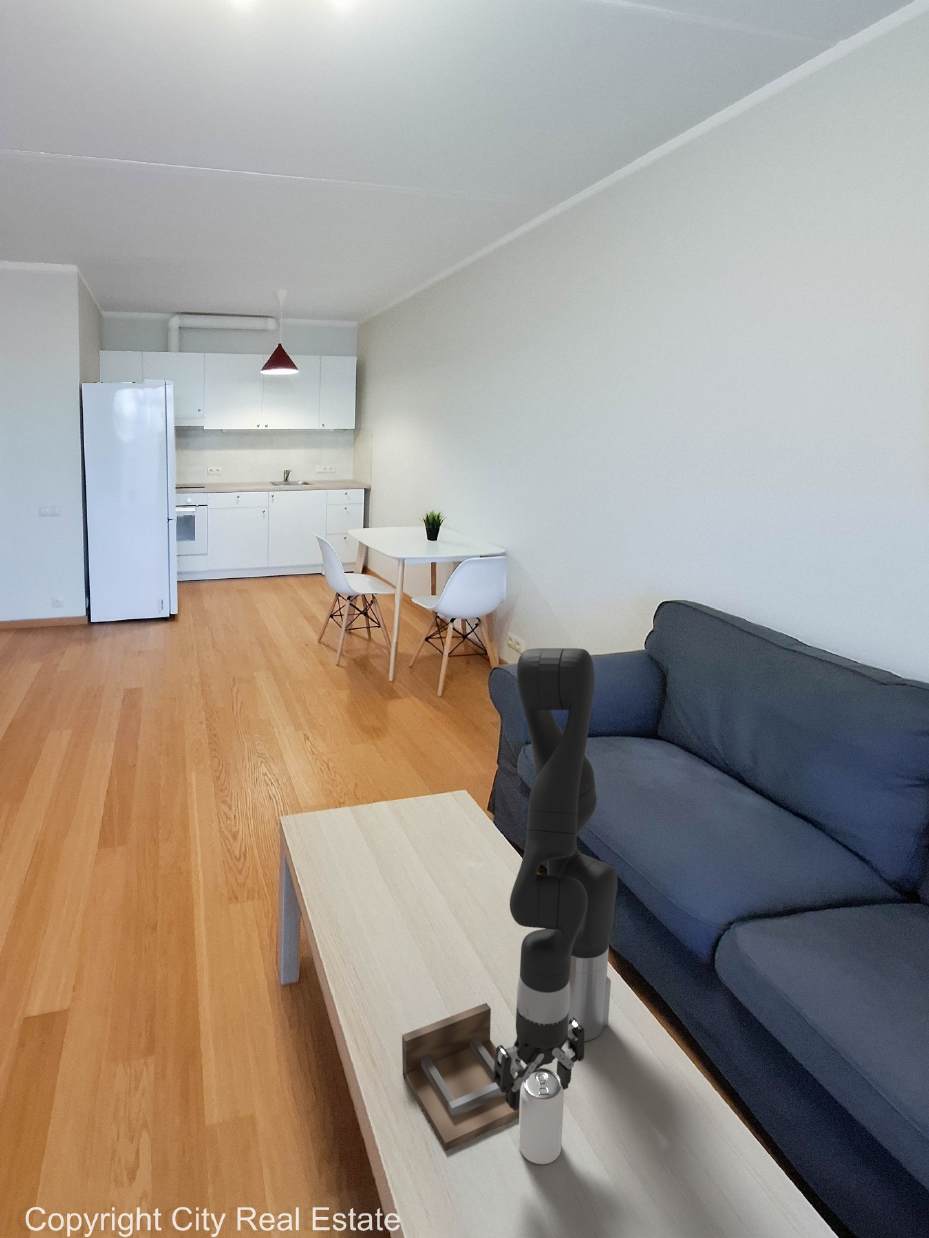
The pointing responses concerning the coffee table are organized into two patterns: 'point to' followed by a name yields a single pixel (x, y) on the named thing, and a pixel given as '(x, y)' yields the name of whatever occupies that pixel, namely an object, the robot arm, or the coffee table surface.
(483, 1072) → the wall board
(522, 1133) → the can
